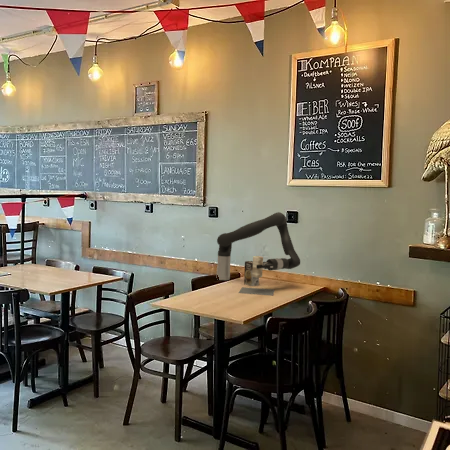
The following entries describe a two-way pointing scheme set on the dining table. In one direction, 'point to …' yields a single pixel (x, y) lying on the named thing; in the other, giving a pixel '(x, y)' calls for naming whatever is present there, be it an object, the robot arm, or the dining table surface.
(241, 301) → the dining table surface
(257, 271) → the block
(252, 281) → the coffee box
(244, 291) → the mat
